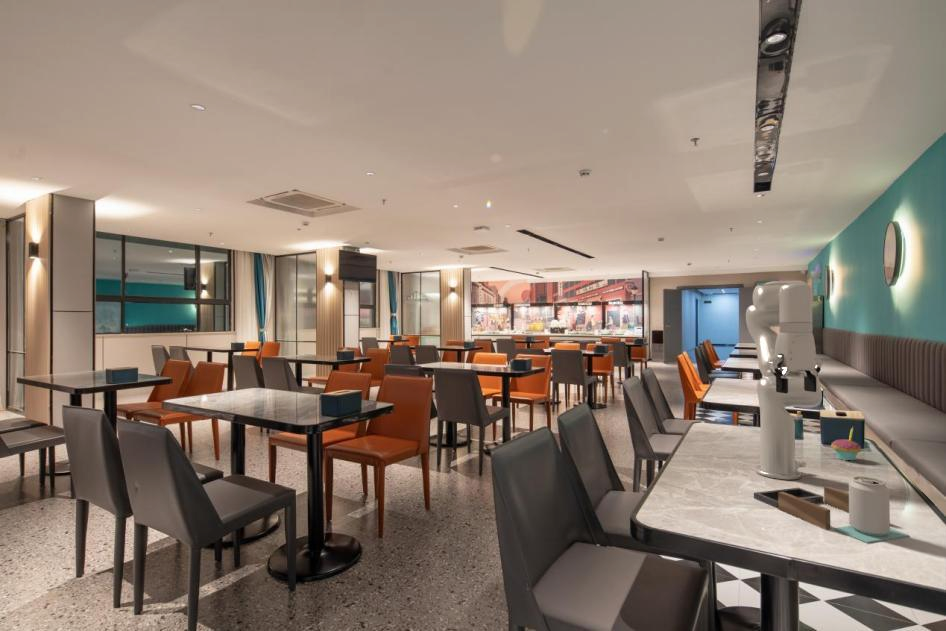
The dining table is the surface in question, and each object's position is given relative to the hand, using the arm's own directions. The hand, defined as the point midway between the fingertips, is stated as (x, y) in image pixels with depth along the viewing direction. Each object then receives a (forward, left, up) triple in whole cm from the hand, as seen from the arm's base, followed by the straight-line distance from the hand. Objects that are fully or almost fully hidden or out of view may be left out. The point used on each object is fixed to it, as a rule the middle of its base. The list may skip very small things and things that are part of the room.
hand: (796, 392), depth 134 cm
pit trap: (0, -3, -30) cm, 30 cm away
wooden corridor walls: (0, +9, -30) cm, 31 cm away
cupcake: (-55, -29, -31) cm, 69 cm away
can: (0, +19, -30) cm, 36 cm away
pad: (0, +19, -30) cm, 36 cm away
